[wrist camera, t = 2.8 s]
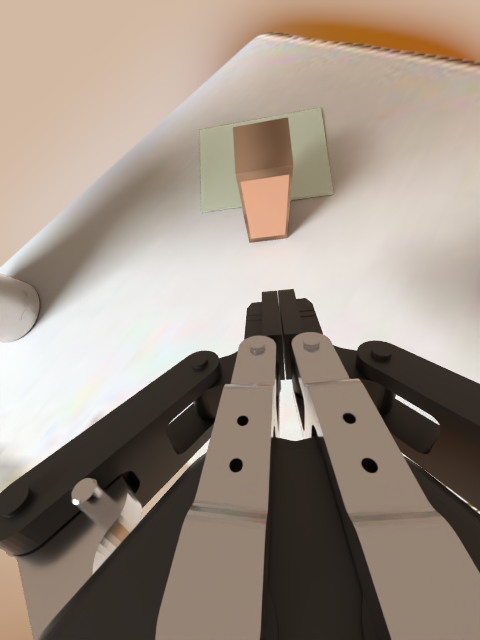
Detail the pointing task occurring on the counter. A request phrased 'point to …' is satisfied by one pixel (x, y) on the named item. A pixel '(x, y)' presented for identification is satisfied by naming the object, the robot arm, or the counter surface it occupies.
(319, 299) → the counter surface
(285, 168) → the walnut block
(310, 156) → the mat
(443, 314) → the counter surface
